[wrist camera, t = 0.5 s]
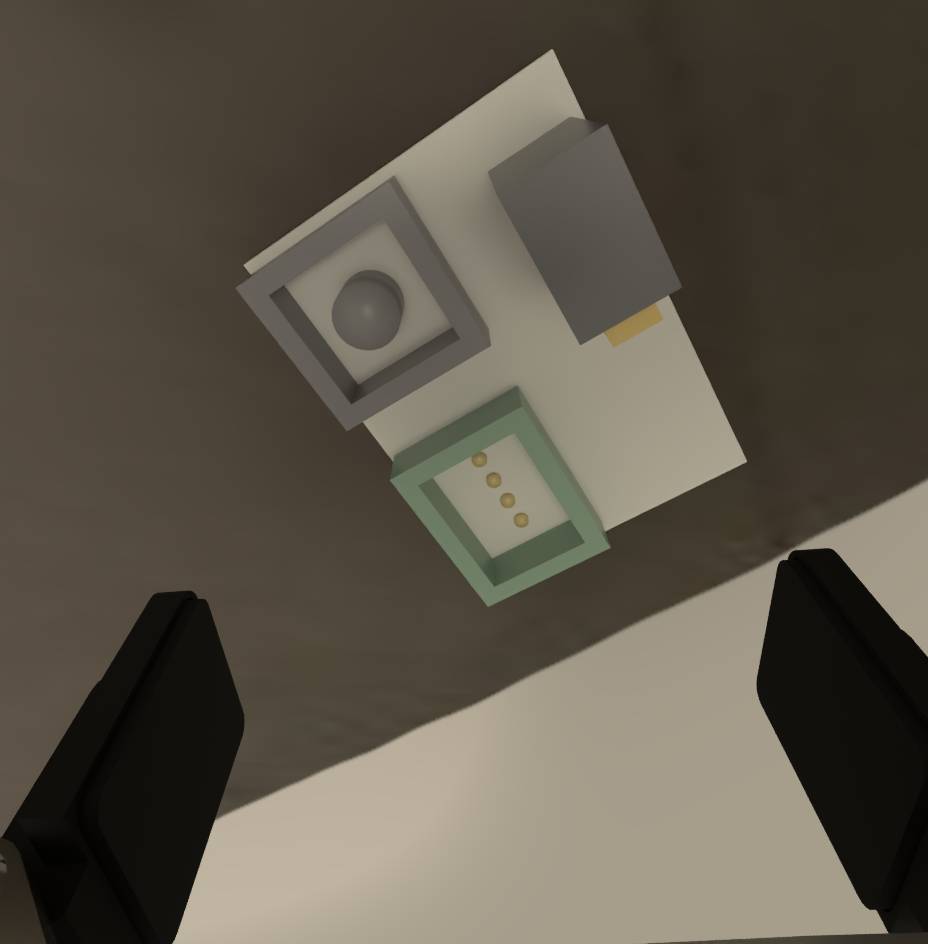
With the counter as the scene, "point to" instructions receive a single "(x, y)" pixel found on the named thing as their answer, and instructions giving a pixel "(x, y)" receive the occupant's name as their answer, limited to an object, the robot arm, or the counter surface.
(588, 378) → the board
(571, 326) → the plug
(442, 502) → the green rectangular frame
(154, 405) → the counter surface
